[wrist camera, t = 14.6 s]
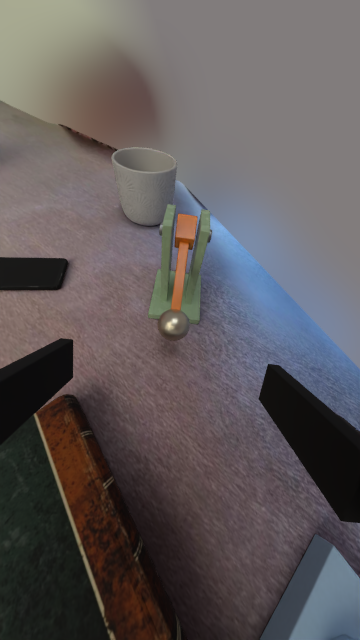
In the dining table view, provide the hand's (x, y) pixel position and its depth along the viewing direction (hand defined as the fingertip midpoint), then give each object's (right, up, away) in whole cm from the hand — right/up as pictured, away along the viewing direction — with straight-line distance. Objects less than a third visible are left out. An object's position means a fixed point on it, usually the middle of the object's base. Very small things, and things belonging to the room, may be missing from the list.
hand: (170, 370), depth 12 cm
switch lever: (+1, +8, +10) cm, 13 cm away
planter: (-7, +29, +32) cm, 43 cm away
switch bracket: (0, +7, +19) cm, 21 cm away
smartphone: (-27, +11, +18) cm, 34 cm away
